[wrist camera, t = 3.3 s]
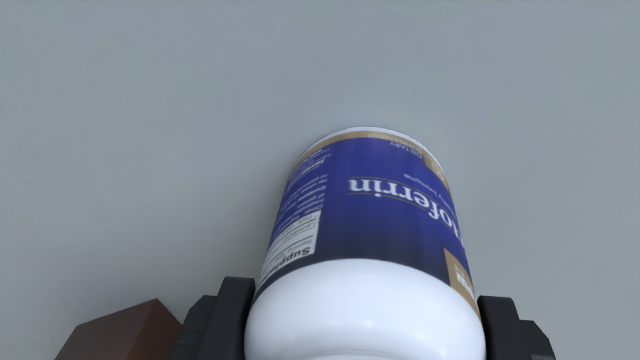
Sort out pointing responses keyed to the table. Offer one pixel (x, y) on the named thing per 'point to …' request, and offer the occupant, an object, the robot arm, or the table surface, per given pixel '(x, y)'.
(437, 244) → the pill bottle
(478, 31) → the table surface
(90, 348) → the walnut block
